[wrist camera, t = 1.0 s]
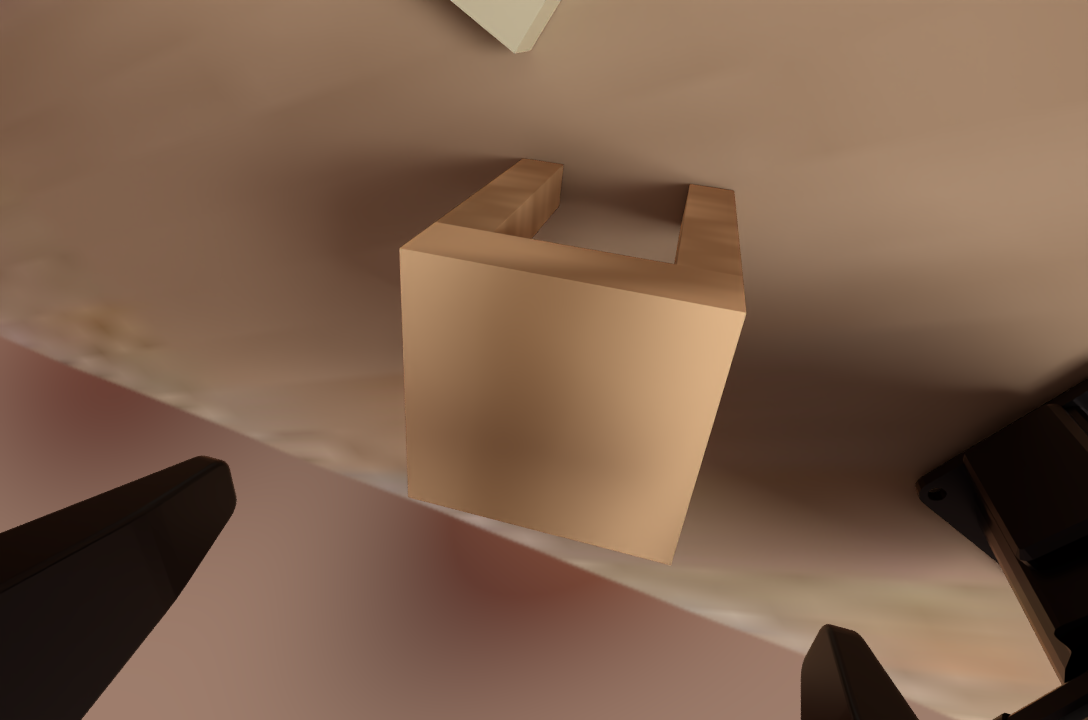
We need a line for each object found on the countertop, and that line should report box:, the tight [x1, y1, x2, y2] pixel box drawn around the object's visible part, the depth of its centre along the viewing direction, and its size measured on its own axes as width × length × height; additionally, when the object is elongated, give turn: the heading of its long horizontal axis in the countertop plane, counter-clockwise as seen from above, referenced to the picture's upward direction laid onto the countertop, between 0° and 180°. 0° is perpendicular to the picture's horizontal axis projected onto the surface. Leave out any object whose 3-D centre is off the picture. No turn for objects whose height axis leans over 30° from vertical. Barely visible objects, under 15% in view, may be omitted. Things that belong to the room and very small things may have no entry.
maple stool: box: [399, 158, 746, 565], centre depth 15 cm, size 6×6×8 cm
